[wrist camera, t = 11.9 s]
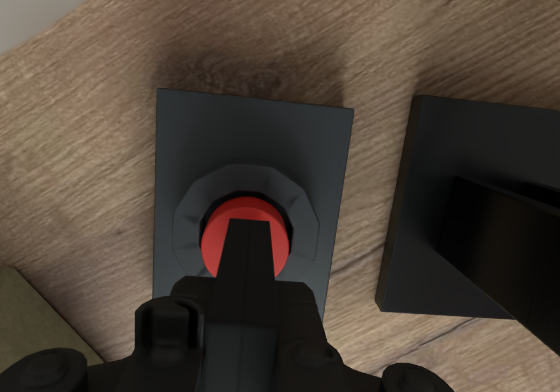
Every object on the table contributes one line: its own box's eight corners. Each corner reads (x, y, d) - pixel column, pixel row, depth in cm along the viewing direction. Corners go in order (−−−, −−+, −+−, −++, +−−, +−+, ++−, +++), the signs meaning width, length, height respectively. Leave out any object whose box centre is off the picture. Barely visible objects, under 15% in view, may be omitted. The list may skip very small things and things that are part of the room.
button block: (168, 88, 18) (144, 85, 14) (344, 107, 19) (366, 109, 15) (161, 303, 21) (140, 348, 17) (314, 312, 22) (327, 357, 18)
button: (208, 192, 16) (202, 203, 14) (290, 199, 16) (294, 210, 15) (204, 267, 17) (198, 286, 15) (281, 273, 17) (284, 291, 16)
